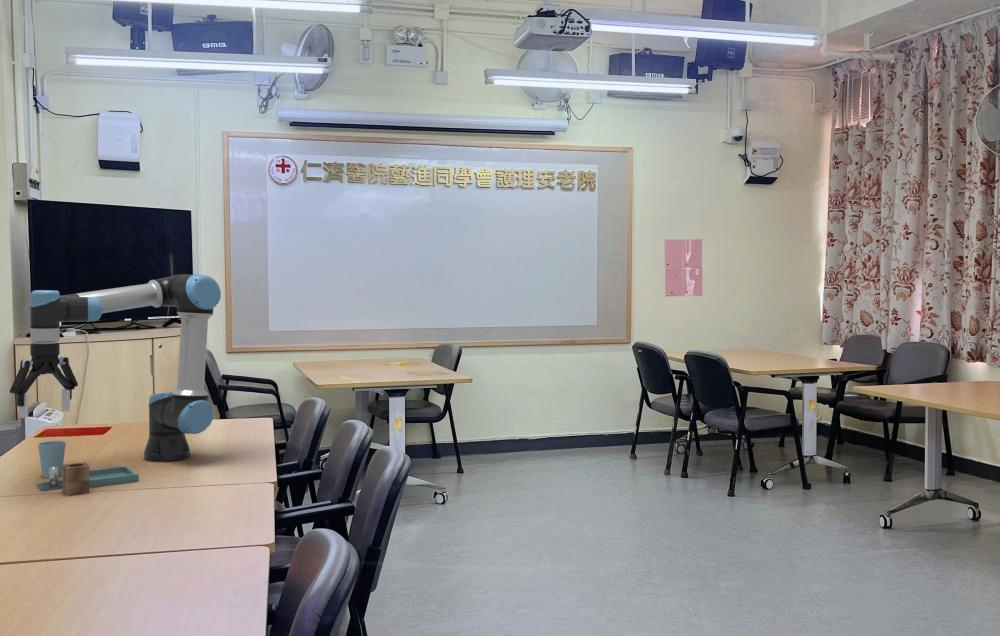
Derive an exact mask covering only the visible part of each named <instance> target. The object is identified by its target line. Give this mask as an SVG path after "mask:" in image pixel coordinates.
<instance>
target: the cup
mask: <svg viewBox="0 0 1000 636" xmlns="http://www.w3.org/2000/svg"><path fill="white" fill-rule="evenodd" d="M66 444H67V442H66V441H65V440H64V441H63V440H49V441H43V442H39V443H38V444H37V446H38V452H39V461H40V467H41V468H40V469H41V475H42V477H43V478H49V467H53V466H58V477H61V476H63V470H62V465H64V460H65V451H66V446H67V445H66Z"/></svg>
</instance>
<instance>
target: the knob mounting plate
mask: <svg viewBox="0 0 1000 636" xmlns="http://www.w3.org/2000/svg"><path fill="white" fill-rule="evenodd" d="M36 486H37V488H38V490H39V491H41V492H44V491H52V490H59V489H63V479H62V480H61V479H60V480H59V476H58V466H53V467H49V479H48V481H46V482H38V483H37V482H36Z"/></svg>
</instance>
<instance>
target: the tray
mask: <svg viewBox="0 0 1000 636" xmlns="http://www.w3.org/2000/svg"><path fill="white" fill-rule="evenodd" d="M139 476H140V475H139V473H137V472H136V471H135V470H134V469H132V468H131V467H129V466H128V465H121V466H115V467H114V466H113V467H105V468H97V469H89V485H90V489H93V488H101V487H107V486H108V487H109V486H114V485H116V486H117V485H122V484H131V483H138V482H139V481H140V479H139Z"/></svg>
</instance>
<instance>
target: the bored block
mask: <svg viewBox="0 0 1000 636" xmlns="http://www.w3.org/2000/svg"><path fill="white" fill-rule="evenodd" d="M62 470H63V471H62V480H63V488H62V493H64V495H65V496H66V497H69V496H71V497H72V496H76V495H78V496H79V495H82V494H84V495H85V494H90V489H91V488H90V485H89V470H90V465H89V464H88V463H86V461H84V462H83V461H82V462H75V463H74V462H73V463H65V464H64V463H63V465H62Z"/></svg>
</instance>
